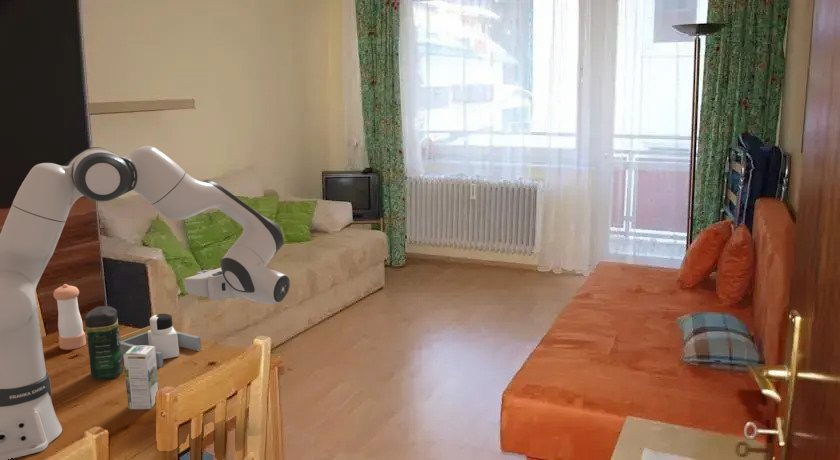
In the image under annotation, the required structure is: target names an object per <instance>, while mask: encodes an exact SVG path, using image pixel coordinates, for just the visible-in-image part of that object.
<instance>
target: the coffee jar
mask: <svg viewBox="0 0 840 460" xmlns="http://www.w3.org/2000/svg"><path fill="white" fill-rule="evenodd" d="M84 324H85V332H86V333H85V334H86V338H87V339H86V342H87V347H88V358H89V367H90V376H91V378H92V379H93V380H101V381H106V380H110V379H113V378H116V377H117V378H118V377H119V376H120V375H121V374H122V372H123V370H124V361H123V357H122V354H121V345H120V337H121V336H120V328H119V327H120V326H119V318H118V311H117V309H116V308H114V307H113V306H111V305H104V306H95V307H94V308H92V309H91V310H89V311H88V312H87V314H86V315H85V317H84Z"/></svg>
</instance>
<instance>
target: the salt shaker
mask: <svg viewBox="0 0 840 460" xmlns="http://www.w3.org/2000/svg"><path fill="white" fill-rule="evenodd" d="M52 294H53V295H52V296H53V298H54V299H55V300H56V303H57V312H58V317H57V320H58V321H57V328H58V334H59V335H58V336H57V337H58V344H59V348H60V349H61V350H66V351H67V350H68V351H69V350H75V349H79V348H82V347H84V346H86V344H87V339H86V338H87V337H86V333H85V332H86V331H84V325H83V320H82V316H81V313H80V309H79V303H78V302H79V301H78V296H79V294H80V290H79V288H78V287H77V286H74V285H69V284H67V283H64V284H63V285H62V286H59V287H58V288H55V289H54V291H53V293H52Z"/></svg>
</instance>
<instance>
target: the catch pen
mask: <svg viewBox="0 0 840 460" xmlns="http://www.w3.org/2000/svg"><path fill="white" fill-rule="evenodd" d="M149 330H151V328H150V325H148V326H146V327H143V328H140V329H138V330H134V331H132V332H129V333H127V334H123V335H121V336H120V345H121V354H122V358H124V357H123V355H124V354H125V353H126V352H127V351H128V350H129V349H130V348H132V347H133V346H139V345H147V346H149V341H148V331H149ZM175 331H176V333H177V337H178V347H182V348H186V349H188V350H193V351H196V350H200V349H201V350H202V343H201V342H202V339H201V336H199V335H193V334H190V333H186V332H182V331H177V330H175ZM201 350H200V351H201ZM155 353H156V364H157V368H163V367H164V359H163V356H162V352H158V351H155Z"/></svg>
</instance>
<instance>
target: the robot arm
mask: <svg viewBox="0 0 840 460" xmlns="http://www.w3.org/2000/svg"><path fill="white" fill-rule="evenodd" d="M131 191H134V192H135V193H137V194H138V195H139V196H140V197H142V198H143V199H144V200H145V201H146V202H147V203H148V204H149V205H150V206H151V208H153V209H154V210H155V211H156V212H157V213H158V214H159V215H161V216H163V217H164V218H166V219H169V220H173V221H183V220H188V219H190V218H192V217H194V216H197V215H199V214H201V213H203V212H204V211H207V210H209V209H216V210H219V211H221V212H222V213H224V214H225V215H226V216H227V217H229V218H231V219H232V220H233V221H234V222H236V223H237V224H238V225H240V226H241V228H242V233H241V234H240V235H239V237H238V238H237V239H236V241H235V242H234V243H233V244H232V246H230V248H229V249H228V251H226V253H225V254H224V255H223V257H222V259H221V260H220V267H219V268H215V269H211V270H210V269H203V270H199V271H196V272H195V275H193V276H188V277H185V278H184V289H185V292H186V293H188V294H190V295H193V296H198V297H203V298H208V299H209V300H210V301H220V300H226V299H235V300H236V299H240V300H250V301H251V302H253V303H254V302H255V303H261V304H268V305H269V304H270V305H273V304H279V303H281V302H282V301H283V300H284V299H285V298H286V297H287V296H288V295H287V294H288V293H289V291H290V287H291V282H290V277H289V276H288V275H287V274H285V273H282V272H280V271H277V270H274V269H270V268H268V267H267V265H268V264H269V263H270V262H271V259H272V258H273V257H274V256H275V255H276V254H277V253H278V251H279V250H280V249H282V247H283V246H284V241H285V240H284V234H283V231H282V229H281V226H280V225H279V224H277V223H276V222H274V221H273V220H271V219H269V218H268V217H266V216H264V215H262V214H260V213H259V212H258V211H257V210H255V209H253V208H252V207H251V206H249V205H248V204H247V203H245V202H244V201H242V199H240V198H239V197H237V196H236V195H235V194H233V193H232V192H230V191H229V190H227V189H226V188H225V187H223V186H222V185H220V184H219V183H217V182H215V181H212V180H210V179H205V180H199V179H196V178H195V177H192V176H191V175H190V174H188V172H187V171H185V170H184V169H183V168H182V167H181V166H180V165H179V164H178V163H176V161H175V160H173V159H172V158H171V157H169V156H168V155H167V154H165V153H164V152H162V151H161V150H160V149H158V148H157V147H156V146H151V145H143V146H140V147H137V148H136V149H134V150H133V151H131V152H130V153H129V154H127V155H125V156H119V155H117V154H116V153H114V152H113V151H111V150H110V149H107V148H103V147H98V146H96V147H95V146H94V147H89V148H85V149H84V150H81V151H80V152H78V154H76V155H75V156H74V157H72V158H70V159H69V160H68V161H67V162H66V163H64V164H63V165H60V164H57V163H53V162H42V163H37V164H35V165H34V166H33V167H32V168H31V169H30V170H29V172H28V173H27V174H26V177H25V178H24V180H23V181H22V183H21V185H20V186H19V188H18V190H17V192H16V195H15V197H14V199H13V201H12V204H11V207H10V209H9V211H8V214H7V216H6V218H5V220H4V224H3V226H2V229H1V230H0V460H8V459H9V460H12V459H11V458H13V459H16V458H17V459H18V458H20V457H23V456H28V455H32V454H36V453H40V452H42V451H44V450H46V448H47V447H48V446H49V444H51V442H53V441H54V440H55V439H57V438H58V437H59V436H60V435H61V433H62V431H63V426H62V425H61V423H60V421H59V419H58V416H57V415H56V411H55V408H54V405H53V402H52V387H51V386H52V385H51V384H52V383H51V378H50V376H49V372H47V370H46V362H45V356H44V348H43V347H44V346H43V340H42V335H41V334H42V333H41V328H40V327H41V326H40V320H39V312H38V307H37V300H36V299H37V297H36V291H37V287H38V284H39V282H40V280H41V277H42V275H43V274H44V271H45V269H46V267H47V265H48V264H49V262H50V259H51V258H52V257H53V255H54V252H55V249H56V247H57V245H58V243H59V240H60V237H61V234H62V233H63V229H64V227H65V225H66V221H67V220H68V217H69V214H70V211H71V210H72V207H73V205H74V204H75V202H76V201H77V200H79V199H80V198H81V197H85V198H87V199H89V200H91V201H94V202H95V201H96V202H102V203H103V202H109V201H112V200H115V199H117V198H119V197H121V196H123V195H125V194H127V193H129V192H131Z"/></svg>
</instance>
